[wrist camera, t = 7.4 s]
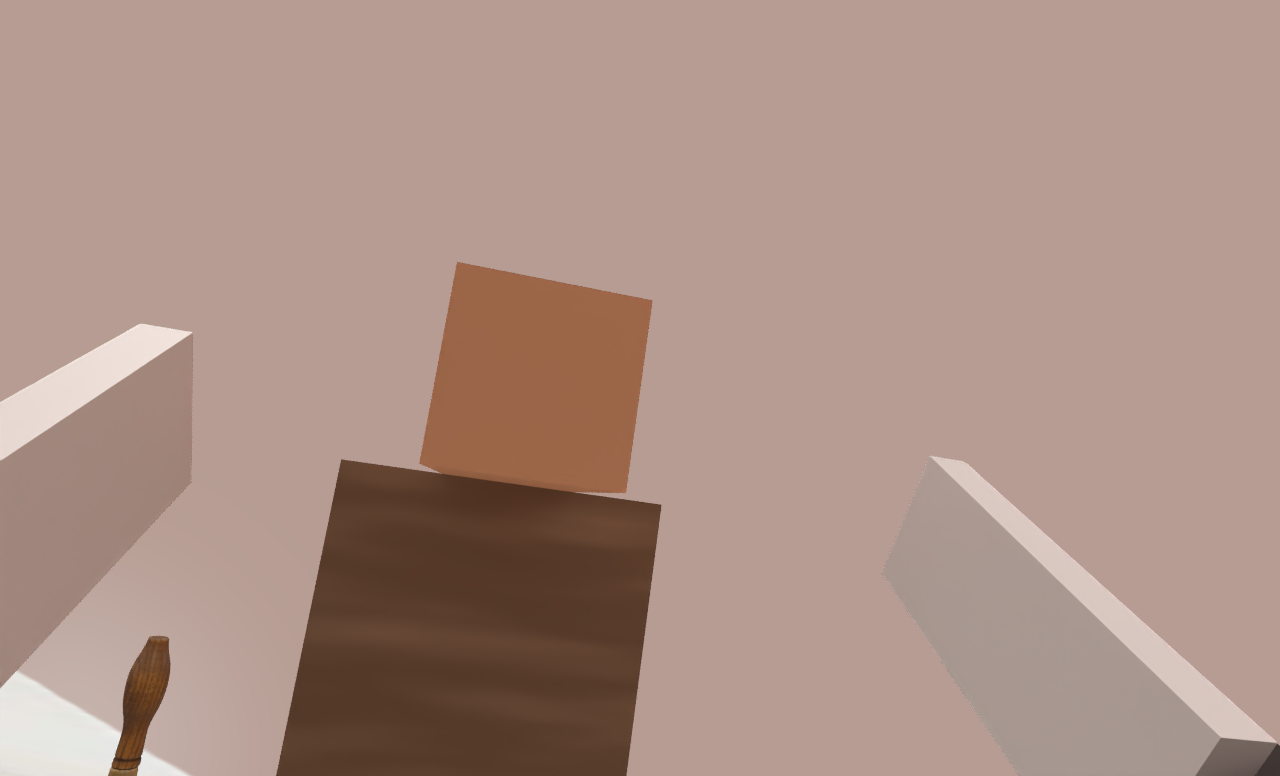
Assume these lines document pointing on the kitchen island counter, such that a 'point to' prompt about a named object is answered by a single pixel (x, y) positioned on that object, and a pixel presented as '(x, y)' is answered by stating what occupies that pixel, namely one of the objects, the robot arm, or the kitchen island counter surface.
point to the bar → (537, 383)
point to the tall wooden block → (471, 630)
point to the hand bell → (141, 703)
